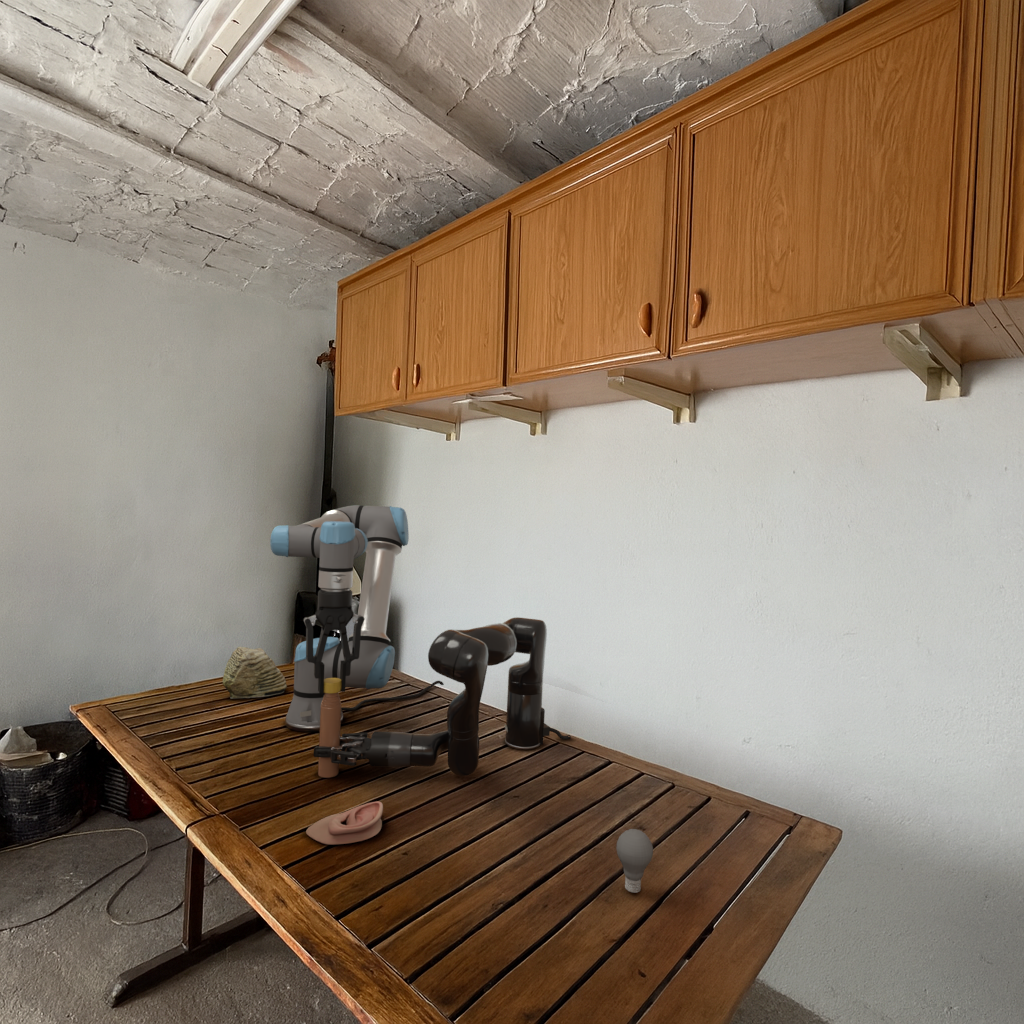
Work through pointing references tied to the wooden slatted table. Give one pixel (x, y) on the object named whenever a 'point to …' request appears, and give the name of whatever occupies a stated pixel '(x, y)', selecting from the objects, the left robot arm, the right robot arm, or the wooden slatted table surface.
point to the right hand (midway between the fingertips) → (317, 747)
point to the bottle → (329, 732)
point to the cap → (332, 685)
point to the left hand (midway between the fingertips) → (331, 690)
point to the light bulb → (634, 857)
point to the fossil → (252, 674)
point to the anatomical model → (348, 825)
